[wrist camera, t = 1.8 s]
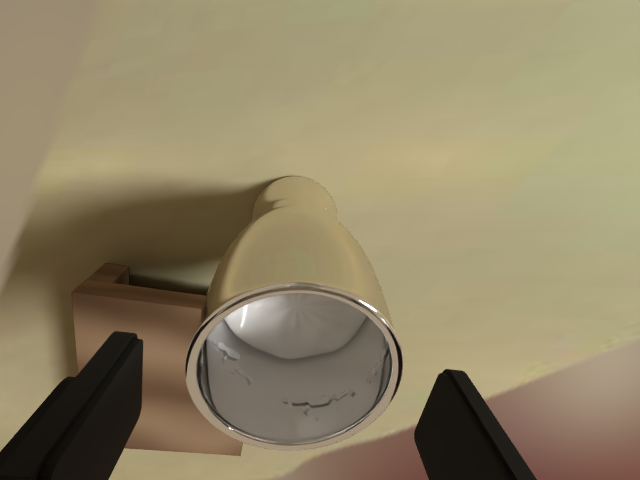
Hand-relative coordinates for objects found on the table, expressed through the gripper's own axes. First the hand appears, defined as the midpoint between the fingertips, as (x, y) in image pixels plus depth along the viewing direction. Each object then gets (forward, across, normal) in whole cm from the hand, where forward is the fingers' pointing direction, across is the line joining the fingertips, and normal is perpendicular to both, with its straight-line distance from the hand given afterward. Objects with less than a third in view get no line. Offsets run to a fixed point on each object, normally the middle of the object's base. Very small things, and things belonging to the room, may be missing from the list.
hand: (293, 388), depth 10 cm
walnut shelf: (+15, +7, +12) cm, 21 cm away
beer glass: (+15, 0, -1) cm, 15 cm away
